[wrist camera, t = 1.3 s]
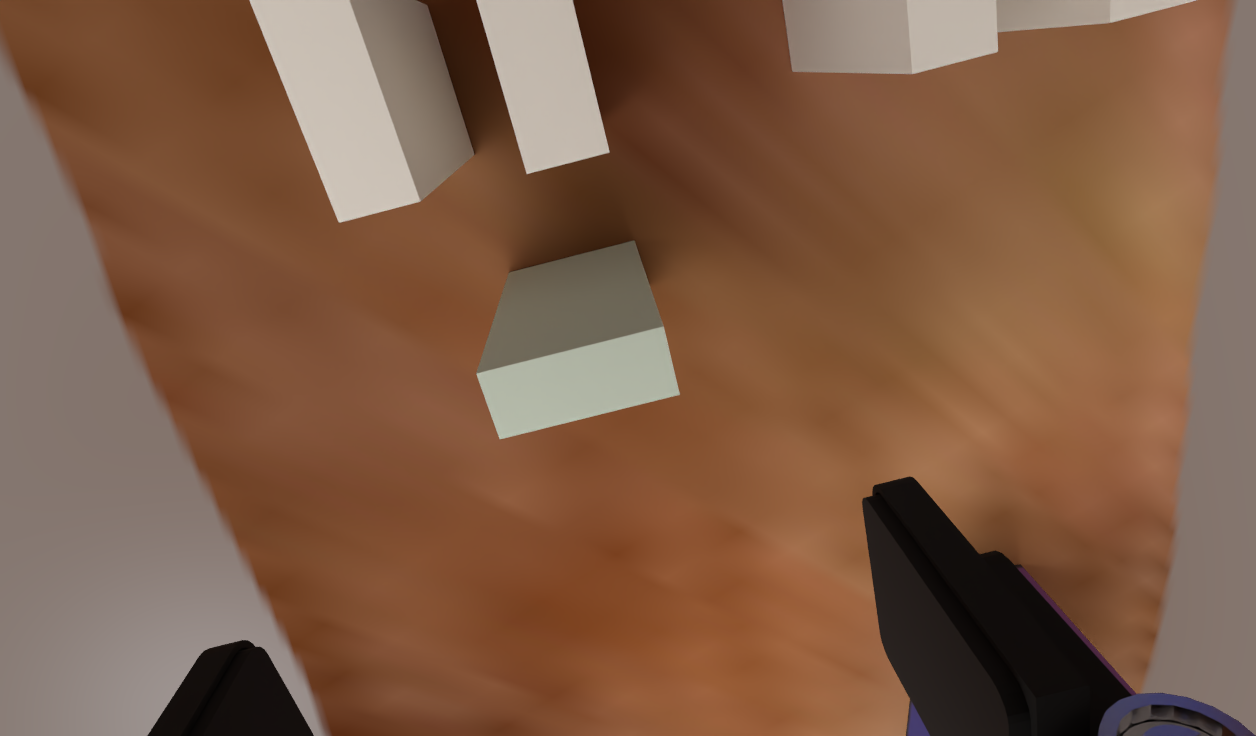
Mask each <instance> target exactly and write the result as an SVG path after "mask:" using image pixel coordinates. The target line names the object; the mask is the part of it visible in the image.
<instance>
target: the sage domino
mask: <svg viewBox="0 0 1256 736" xmlns="http://www.w3.org/2000/svg"><path fill="white" fill-rule="evenodd" d="M476 374H477V377H478V380H479V382H480V385H481V388H482V391H483V394H484V396H485V399H486V402H487V405H488V408H489V410H490V413H491V416H492V419H493V422H494V425H495V427H496V430H497V433H498V436H499V439H503V438H507V437H511V436H515V435H519V434H523V433H527V432H531V431H535V430H539V429H543V428H547V427H551V426H555V425H559V424H563V423H567V422H571V421H576V420H580V419H584V418H588V417H592V416H596V415H600V414H604V413H608V412H612V411H616V410H620V409H624V408H628V407H632V406H636V405H640V404H644V403H648V402H652V401H656V400H660V399H664V398H668V397H672V396H676V395H680V394H679V390H678V385H677V381H676V377H675V373H674V368H673V364H672V360H671V356H670V352H669V347H668V343H667V339H666V335H665V330H664V326H663V323H662V320H661V317H660V314H659V311H658V309H657V306H656V303H655V300H654V297H653V294H652V291H651V288H650V285H649V282H648V279H647V276H646V273H645V270H644V267H643V264H642V261H641V258H640V255H639V252H638V250H637V247H636V244H635V241H630V242H626V243H622V244H618V245H614V246H610V247H606V248H603V249H599V250H595V251H591V252H587V253H583V254H579V255H575V256H571V257H567V258H563V259H560V260H556V261H552V262H548V263H544V264H540V265H536V266H532V267H528V268H524V269H520V270H516V271H513V272H509V274H508V277H507V280H506V283H505V286H504V289H503V292H502V296H501V299H500V302H499V305H498V308H497V311H496V314H495V317H494V320H493V323H492V327H491V330H490V333H489V336H488V339H487V342H486V345H485V348H484V351H483V354H482V358H481V361H480V364H479V367H478V370H477V373H476Z"/></svg>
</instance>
